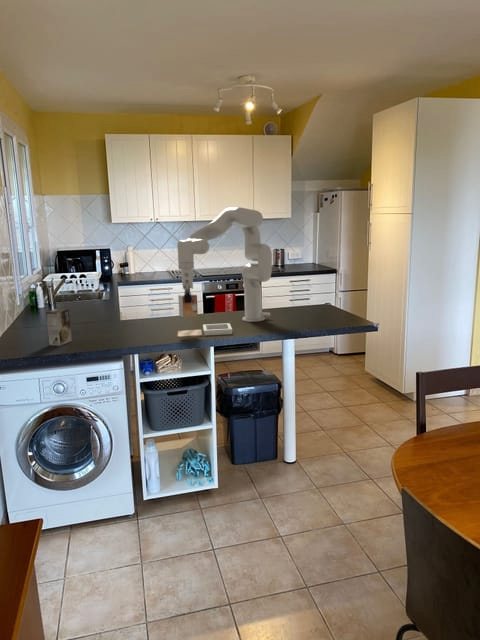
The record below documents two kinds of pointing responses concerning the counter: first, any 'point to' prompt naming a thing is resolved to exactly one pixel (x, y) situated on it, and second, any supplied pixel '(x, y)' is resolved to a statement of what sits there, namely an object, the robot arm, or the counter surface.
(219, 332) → the square frame
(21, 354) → the counter surface
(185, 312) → the small box
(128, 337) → the counter surface
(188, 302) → the robot arm
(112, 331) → the counter surface
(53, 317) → the coffee box
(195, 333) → the cork pad
